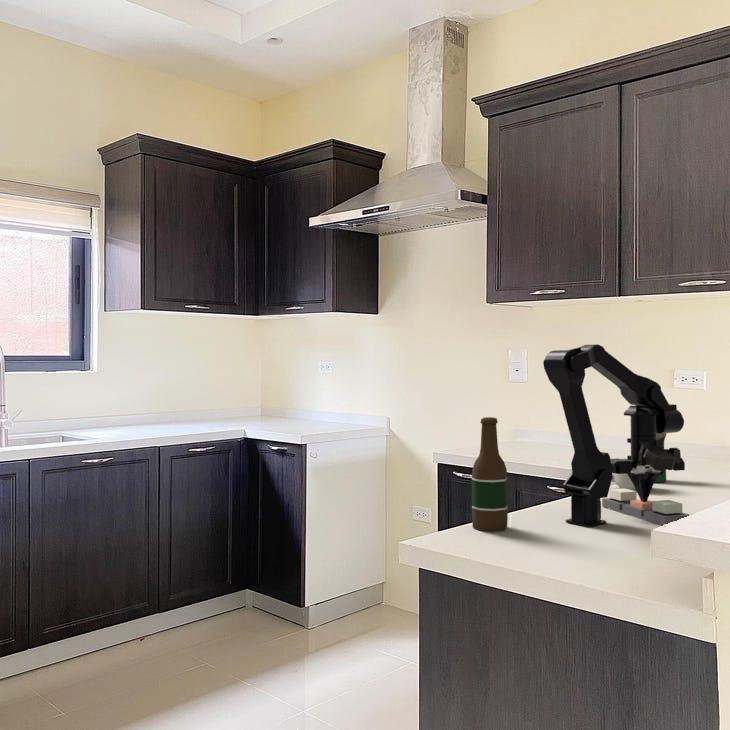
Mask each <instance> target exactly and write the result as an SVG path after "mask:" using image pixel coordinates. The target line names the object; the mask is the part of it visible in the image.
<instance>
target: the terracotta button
mask: <svg viewBox="0 0 730 730" xmlns="http://www.w3.org/2000/svg"><path fill="white" fill-rule="evenodd" d="M652 501H653V500H650V499H648V500H647V502H642V501H641V499H637V500H630V506H633V507H636V508H640V509H650V508H652Z"/></svg>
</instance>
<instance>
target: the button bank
mask: <svg viewBox="0 0 730 730" xmlns="http://www.w3.org/2000/svg"><path fill="white" fill-rule="evenodd" d="M602 506H604V507H603V508H605V507H607V508H606V509H608V508H610V509H609V510H611V509H613V510H612V511H614V510H615V512H617V511H618V513H620V514H624V515H627V516H630V517H633V518H637V519H640V520H643V521H646V522H649V523H653V524H655V525H659V526H662V525H664V524H668V523H670V522H673V521H677V520H679V519H681V518H684V517H687V516H689V515H690V514H689V513H685V512H682V513H670V514H664V513H661V512H657V511H654V510H652V508H650V509H640V508H636V507H633V506H630V500H626V501H620V500H616V499H613V498H610V497H606V498H601V507H602Z"/></svg>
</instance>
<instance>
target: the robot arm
mask: <svg viewBox="0 0 730 730" xmlns="http://www.w3.org/2000/svg"><path fill="white" fill-rule="evenodd" d="M542 366H543V369H544V371H545V373H546V374H545V375H546V376H547V378H548V381H549V382H550V383H551V384H552V386H553V387H554V388H555V389H556V391H558V393H559V398H560V401H561V405H562V409H563V412H564V417H565V420H566V425H567V428H568V433H569V435H570V440H571V443H572V446H573V451H574V453H573V456H572V459H571V462H570V463H571V473H570V474H569V476H568V477H567V479H566V480H564V483H563V484H562V487H563V491H564V494H567V495H568V494H569V495H571V496H570V499H571V500H570V504H571V505H570V507H571V508H570V509H571V510H570V511H571V515H570V516H571V517H570V518H567V519H565V523H568V524H569V523H570V524H573V525H578V526H584V527H588V528H590V527H595V526H599V525H604V524H607V520H604V519H602V500H601V499H605V498H608V495H609V493H610V488H611V484H612V479H613V473H615V474H628V476H629V478H630V479H631V481H632V483H633V485H634V487H635V489H636V493H637V495H638V497H639V500H641V501H642V502H647V500H649V496H650V494H651V492H652V489H653V486H654V484H655V483H654V482H655V480H656V479H657V478H658V477H659V476H661V475H664V472H660V471H662V470H666V471H667V470H668V471H676V472H677V471H685V470H686V462H685V460H683V457H681V449H680V448H678V447H669V449H668V448H664V449H663V448H662V446H661V440H657V434H661V433H667V434H672V433H678V432H680V431H682V429H684V425H685V418H684V417H683V414H682V412H681V411H680V410H678V407H677V406H678V405H677V404H671V403H669V402H668V400H667V398H666V396H665V394H664V392H663V391H662V387H661V384H659V383H658V382H657V381H655V380H652V379H651V378H648V377H646V376H642V375H639V374H637V373H635V372H633V371H632V370H631V369H629V368H628V367H627V366H626V365H625V364H623V363H622V362H621V361H619V360H618V359H617V358H616V357H615V356H613V355H612V354H611V353H609V352H608V351H607V350H606V349H605V348H604V346H603V345H600V344H597V343H596V344H583V345H582V346H581V345H580V346H579V347H576V348H571V349H565V350H564V349H563V350H561V349H560V350H551V351H549V352H548V353H547V354H546V355H545V358H544V359H543V363H542ZM591 367H592V368H593V369H594V370H595V371H596V372H598V373H599V374H601V375H602V376H603V377H604V378H606V379H607V380H608V381H610V382H611V383H612V384H614V385H615V386H617V388H618V389H619V391H620V395H621V396H622V397H623V398H624V399H625V401H627V403H628V404H630V406H629V407H628V408H627V409H626V410H624V412H623V416H627V417H628V416H629V417H630V437H629V438H627V439H626V443H627V444H630V455H626V456H627V457H626V459H627V460H623V459H624V458H618V457H617V458H611V456H610V454H609V452H604V451H601V450H600V449H599V448H598V446H597V443H596V438H595V437H596V436H595V434H594V430H593V427H592V426H593V425H592V423H591V422H592V421H591V419H590V414H589V411H588V407H587V404H586V403H587V402H586V399H585V395H584V392H583V384H584V380H585V377H586V369H589V368H591ZM628 460H630V461H628Z"/></svg>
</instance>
